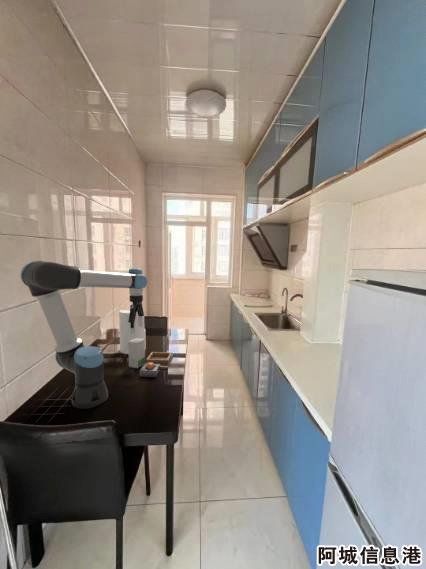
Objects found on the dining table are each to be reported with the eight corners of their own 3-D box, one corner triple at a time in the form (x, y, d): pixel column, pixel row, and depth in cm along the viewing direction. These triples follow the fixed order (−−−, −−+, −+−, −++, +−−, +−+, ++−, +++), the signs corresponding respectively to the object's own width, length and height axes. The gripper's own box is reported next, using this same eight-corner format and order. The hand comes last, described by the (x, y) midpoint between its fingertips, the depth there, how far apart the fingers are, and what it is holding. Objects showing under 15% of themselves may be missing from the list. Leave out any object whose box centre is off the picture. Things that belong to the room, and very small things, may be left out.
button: (152, 371, 142) (152, 365, 142) (145, 371, 142) (145, 365, 142) (154, 368, 146) (154, 362, 146) (147, 368, 146) (147, 362, 146)
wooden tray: (167, 368, 150) (167, 362, 150) (143, 368, 151) (143, 362, 150) (173, 355, 170) (173, 350, 170) (152, 355, 170) (152, 349, 170)
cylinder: (139, 355, 170) (138, 314, 167) (115, 353, 173) (114, 312, 170) (149, 346, 187) (149, 308, 184) (127, 344, 190) (126, 307, 187)
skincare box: (137, 368, 150) (137, 343, 148) (127, 366, 152) (127, 341, 150) (145, 363, 158) (145, 338, 156) (136, 361, 160) (136, 337, 158)
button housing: (156, 377, 140) (156, 371, 139) (139, 376, 140) (139, 370, 140) (160, 369, 149) (160, 364, 148) (144, 369, 149) (144, 363, 149)
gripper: (135, 298, 137) (136, 336, 140) (148, 291, 162) (148, 324, 165) (121, 298, 138) (122, 336, 140) (136, 291, 162) (137, 323, 165)
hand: (136, 329), depth 152 cm, fingers open, 13 cm apart
